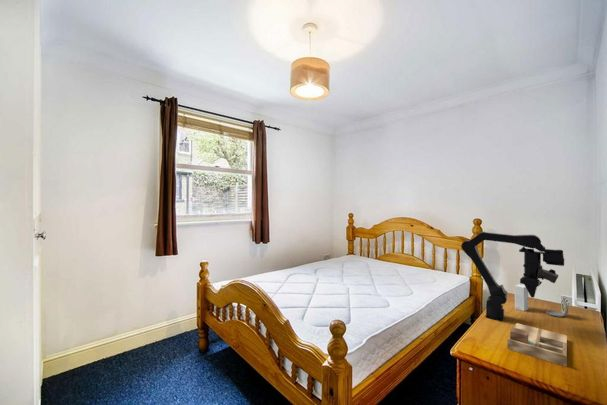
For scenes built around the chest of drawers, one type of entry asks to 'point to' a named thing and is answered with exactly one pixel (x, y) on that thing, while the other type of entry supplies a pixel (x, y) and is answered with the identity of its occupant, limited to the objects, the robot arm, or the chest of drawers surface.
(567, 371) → the chest of drawers surface
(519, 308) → the skincare box
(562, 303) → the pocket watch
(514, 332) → the walnut block
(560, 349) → the board
